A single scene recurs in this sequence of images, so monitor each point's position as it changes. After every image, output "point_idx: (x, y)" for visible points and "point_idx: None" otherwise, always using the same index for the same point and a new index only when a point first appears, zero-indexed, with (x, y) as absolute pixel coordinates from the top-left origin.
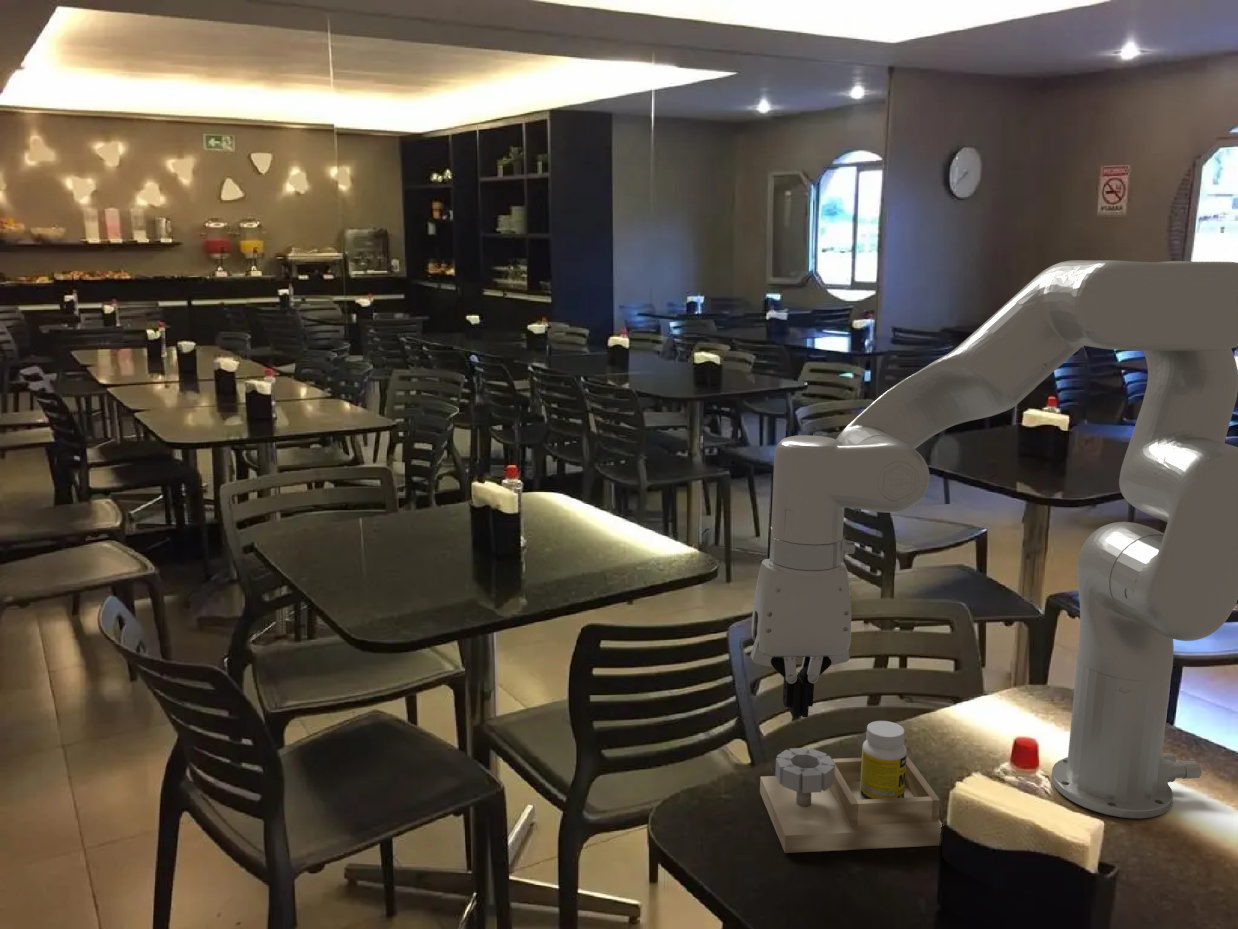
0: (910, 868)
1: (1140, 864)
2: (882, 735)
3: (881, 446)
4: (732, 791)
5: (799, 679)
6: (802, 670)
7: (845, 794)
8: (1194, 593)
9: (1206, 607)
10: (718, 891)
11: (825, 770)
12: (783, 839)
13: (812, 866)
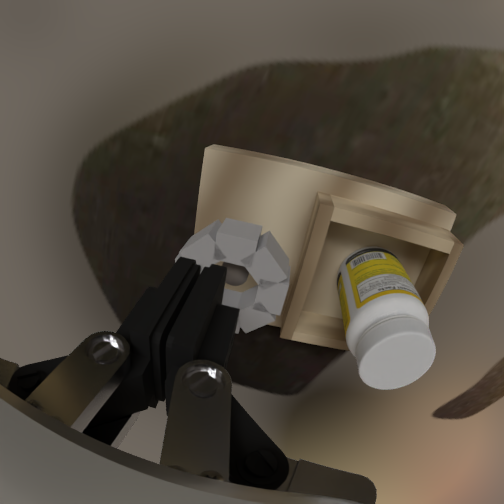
0: (323, 351)
1: (490, 378)
2: (368, 383)
3: None
4: (172, 130)
5: (166, 376)
6: (170, 399)
7: (286, 316)
8: None
9: None
10: (118, 315)
11: (251, 325)
12: None
13: None
